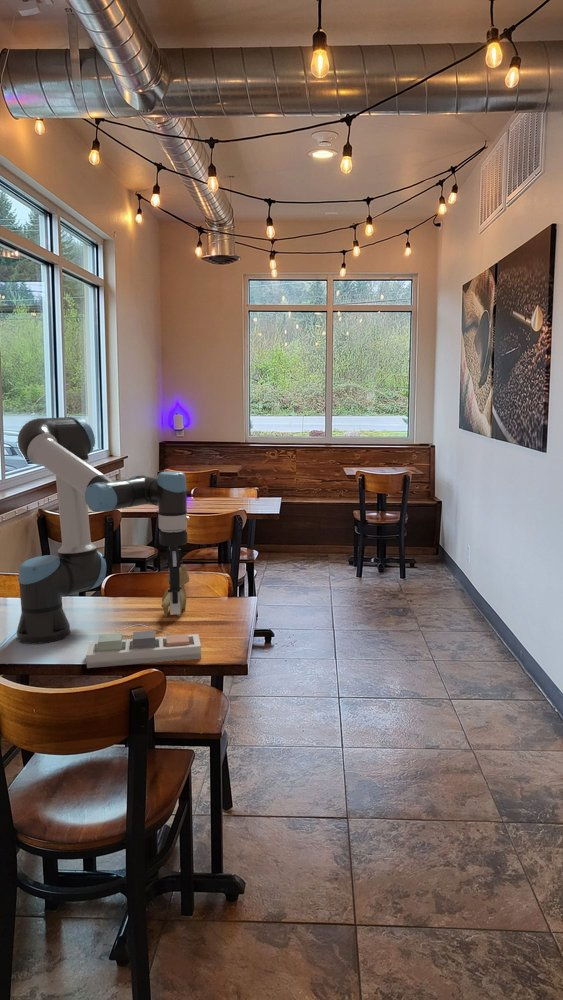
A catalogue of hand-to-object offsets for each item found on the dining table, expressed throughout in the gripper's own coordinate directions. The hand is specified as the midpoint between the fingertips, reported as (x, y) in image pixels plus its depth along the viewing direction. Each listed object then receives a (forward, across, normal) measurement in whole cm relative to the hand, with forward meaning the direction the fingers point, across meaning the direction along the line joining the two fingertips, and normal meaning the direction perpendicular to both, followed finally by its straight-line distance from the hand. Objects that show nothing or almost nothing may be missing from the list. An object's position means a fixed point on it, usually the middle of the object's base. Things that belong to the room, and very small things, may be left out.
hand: (175, 613), depth 191 cm
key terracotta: (+9, -1, 0) cm, 9 cm away
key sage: (+8, -1, +18) cm, 19 cm away
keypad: (+12, -1, +8) cm, 14 cm away
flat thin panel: (+13, +20, +9) cm, 25 cm away
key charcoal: (+8, -1, +9) cm, 12 cm away
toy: (+12, +35, 0) cm, 37 cm away
